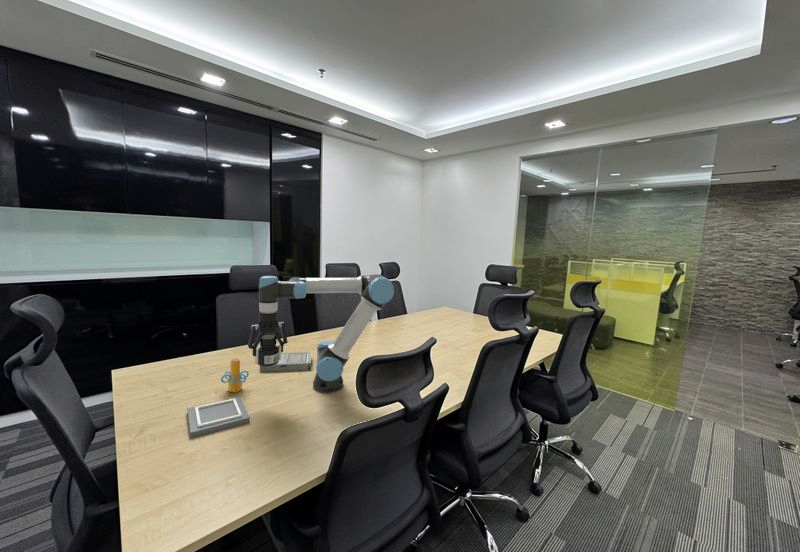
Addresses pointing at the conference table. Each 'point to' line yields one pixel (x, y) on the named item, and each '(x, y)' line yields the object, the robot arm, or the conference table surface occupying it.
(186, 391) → the conference table surface
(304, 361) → the hard drive
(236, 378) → the orange post with loops
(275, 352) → the ink bottle
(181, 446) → the conference table surface
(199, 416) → the base plate
